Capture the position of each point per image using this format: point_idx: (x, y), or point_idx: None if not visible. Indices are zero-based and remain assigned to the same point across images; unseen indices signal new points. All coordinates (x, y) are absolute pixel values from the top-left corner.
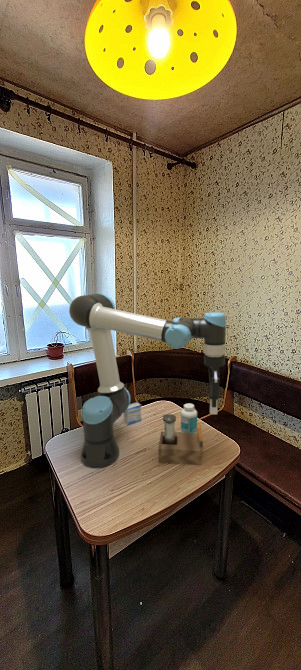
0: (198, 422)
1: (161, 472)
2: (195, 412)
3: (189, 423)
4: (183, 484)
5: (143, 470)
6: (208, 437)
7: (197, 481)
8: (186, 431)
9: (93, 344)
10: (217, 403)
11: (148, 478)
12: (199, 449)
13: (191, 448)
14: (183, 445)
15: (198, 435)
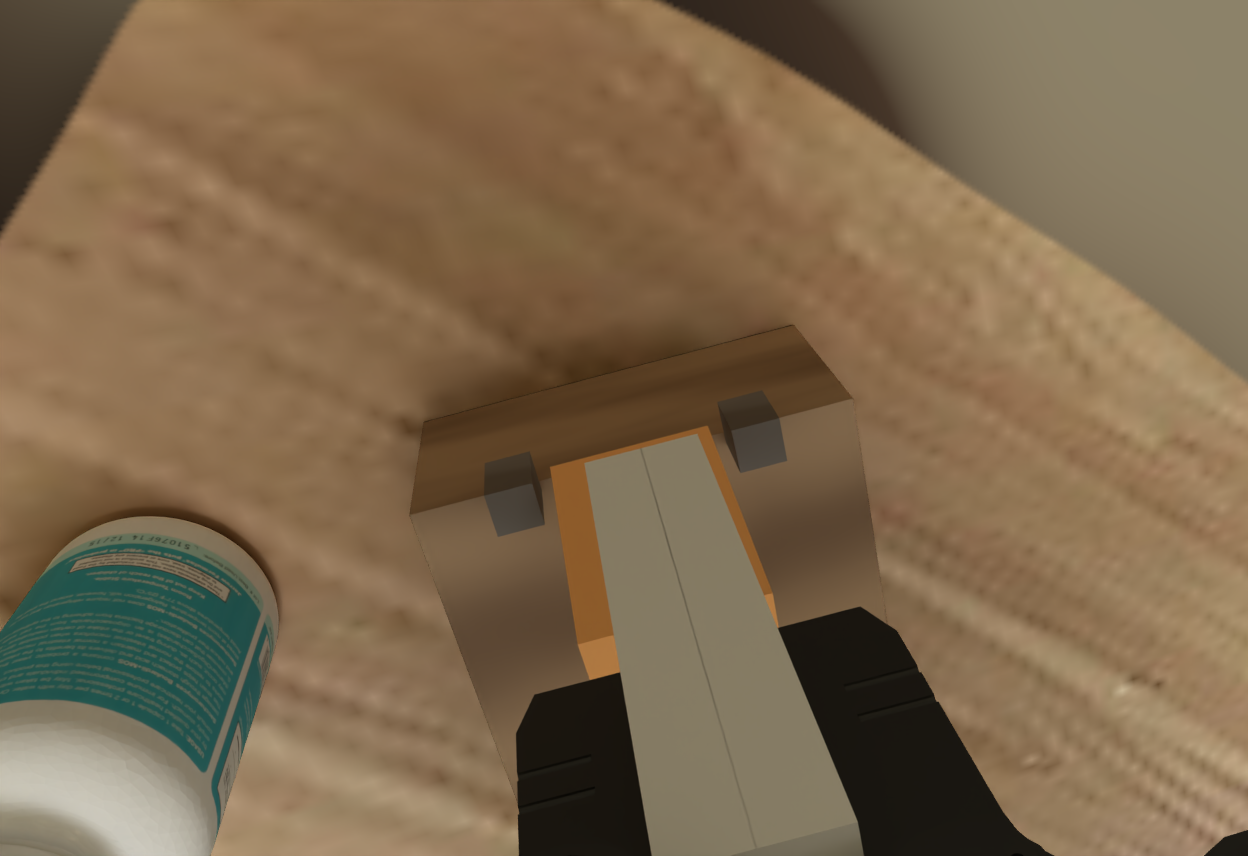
0: (589, 660)
1: (995, 643)
2: (36, 765)
3: (225, 707)
4: (1124, 418)
5: (997, 779)
6: (152, 343)
7: (1064, 300)
8: (269, 655)
9: None
10: (781, 651)
11: (1090, 709)
12: (824, 421)
13: (828, 520)
14: (787, 623)
15: (475, 509)
